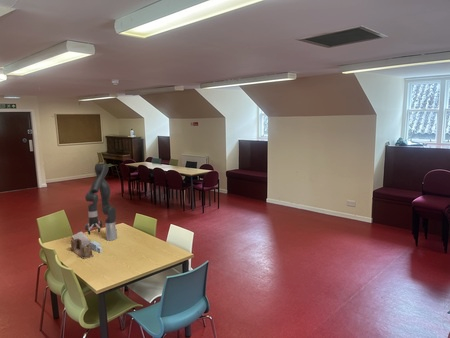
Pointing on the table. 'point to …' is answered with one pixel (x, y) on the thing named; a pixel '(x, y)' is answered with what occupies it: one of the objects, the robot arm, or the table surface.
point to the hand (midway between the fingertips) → (94, 233)
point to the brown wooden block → (81, 249)
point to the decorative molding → (81, 238)
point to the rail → (96, 246)
